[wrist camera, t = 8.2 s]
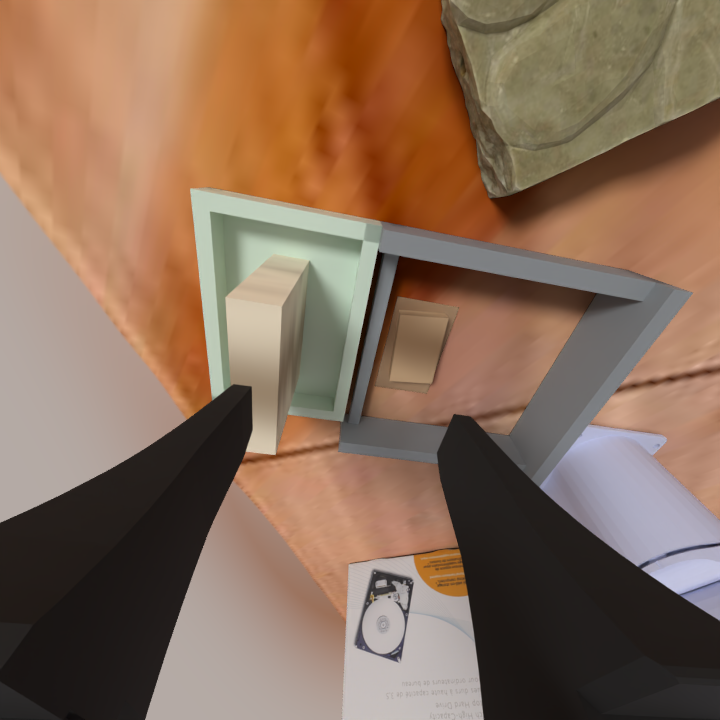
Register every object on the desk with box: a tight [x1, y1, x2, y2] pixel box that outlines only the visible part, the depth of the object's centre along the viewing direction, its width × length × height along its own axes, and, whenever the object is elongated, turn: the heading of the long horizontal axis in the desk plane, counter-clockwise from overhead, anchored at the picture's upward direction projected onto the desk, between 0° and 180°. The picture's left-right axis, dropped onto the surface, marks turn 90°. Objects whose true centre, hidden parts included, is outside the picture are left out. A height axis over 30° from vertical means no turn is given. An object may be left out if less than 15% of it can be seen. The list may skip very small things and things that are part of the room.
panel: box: [225, 254, 310, 455], centre depth 16 cm, size 8×2×7 cm, turn 170°
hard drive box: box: [342, 549, 484, 720], centre depth 28 cm, size 16×8×20 cm, turn 107°
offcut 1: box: [375, 297, 459, 394], centre depth 21 cm, size 7×4×1 cm, turn 170°
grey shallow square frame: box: [338, 221, 693, 487], centre depth 19 cm, size 15×15×4 cm
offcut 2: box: [389, 310, 449, 384], centre depth 20 cm, size 5×3×1 cm, turn 175°
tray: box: [190, 187, 383, 422], centre depth 18 cm, size 13×9×2 cm
